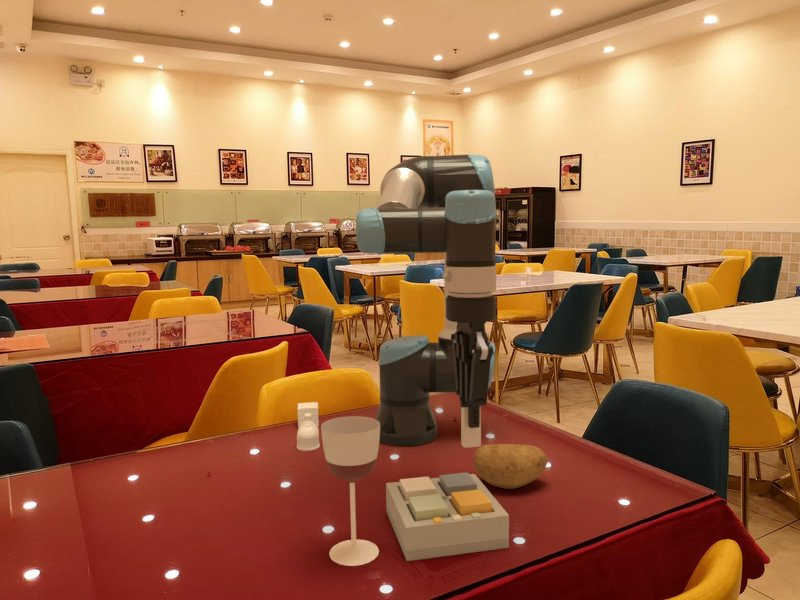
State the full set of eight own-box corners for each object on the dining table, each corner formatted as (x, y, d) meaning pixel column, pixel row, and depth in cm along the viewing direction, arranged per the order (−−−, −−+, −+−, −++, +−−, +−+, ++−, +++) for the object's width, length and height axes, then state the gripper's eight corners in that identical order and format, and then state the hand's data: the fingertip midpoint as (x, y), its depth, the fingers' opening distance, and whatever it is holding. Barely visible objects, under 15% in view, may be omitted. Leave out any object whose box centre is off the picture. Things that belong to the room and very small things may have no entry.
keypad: (386, 511, 104) (385, 481, 103) (474, 501, 107) (474, 472, 107) (406, 561, 89) (406, 525, 88) (508, 547, 92) (509, 513, 91)
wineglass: (326, 540, 95) (322, 417, 93) (381, 537, 96) (378, 415, 93) (324, 568, 87) (319, 435, 85) (384, 564, 88) (381, 432, 85)
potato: (554, 495, 109) (555, 453, 108) (477, 498, 109) (477, 455, 108) (539, 473, 119) (540, 434, 118) (469, 476, 119) (469, 436, 118)
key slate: (439, 489, 104) (439, 475, 103) (467, 486, 105) (467, 472, 104) (447, 502, 99) (447, 487, 98) (476, 499, 100) (476, 484, 99)
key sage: (408, 512, 95) (408, 497, 95) (439, 509, 96) (439, 493, 96) (416, 527, 90) (416, 511, 90) (448, 524, 92) (448, 507, 91)
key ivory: (399, 494, 102) (399, 479, 102) (428, 490, 103) (428, 476, 103) (406, 507, 97) (406, 491, 97) (436, 503, 98) (435, 488, 98)
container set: (298, 423, 153) (297, 402, 152) (318, 422, 154) (318, 401, 153) (296, 452, 133) (295, 428, 133) (320, 450, 134) (319, 426, 134)
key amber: (451, 507, 97) (451, 492, 96) (480, 504, 98) (480, 489, 97) (460, 522, 92) (460, 506, 92) (491, 518, 93) (491, 502, 93)
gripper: (435, 291, 96) (436, 433, 99) (459, 299, 84) (460, 463, 86) (479, 289, 98) (479, 430, 100) (510, 297, 85) (509, 458, 88)
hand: (471, 445), depth 93 cm, fingers closed
